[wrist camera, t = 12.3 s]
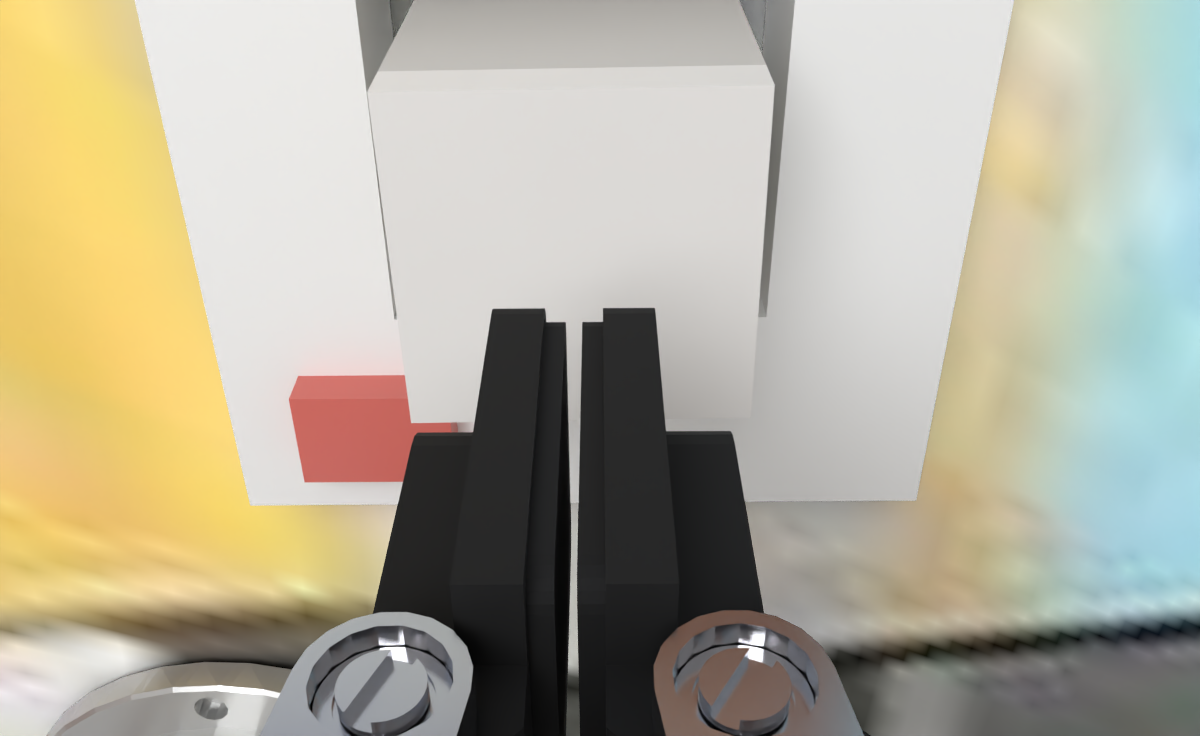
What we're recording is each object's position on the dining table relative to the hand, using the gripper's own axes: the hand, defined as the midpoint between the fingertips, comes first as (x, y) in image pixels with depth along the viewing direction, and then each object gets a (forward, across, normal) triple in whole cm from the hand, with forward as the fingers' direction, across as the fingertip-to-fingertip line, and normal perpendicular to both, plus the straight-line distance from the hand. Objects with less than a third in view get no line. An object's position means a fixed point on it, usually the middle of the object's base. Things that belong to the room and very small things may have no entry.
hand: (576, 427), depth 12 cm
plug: (+12, 0, 0) cm, 12 cm away
